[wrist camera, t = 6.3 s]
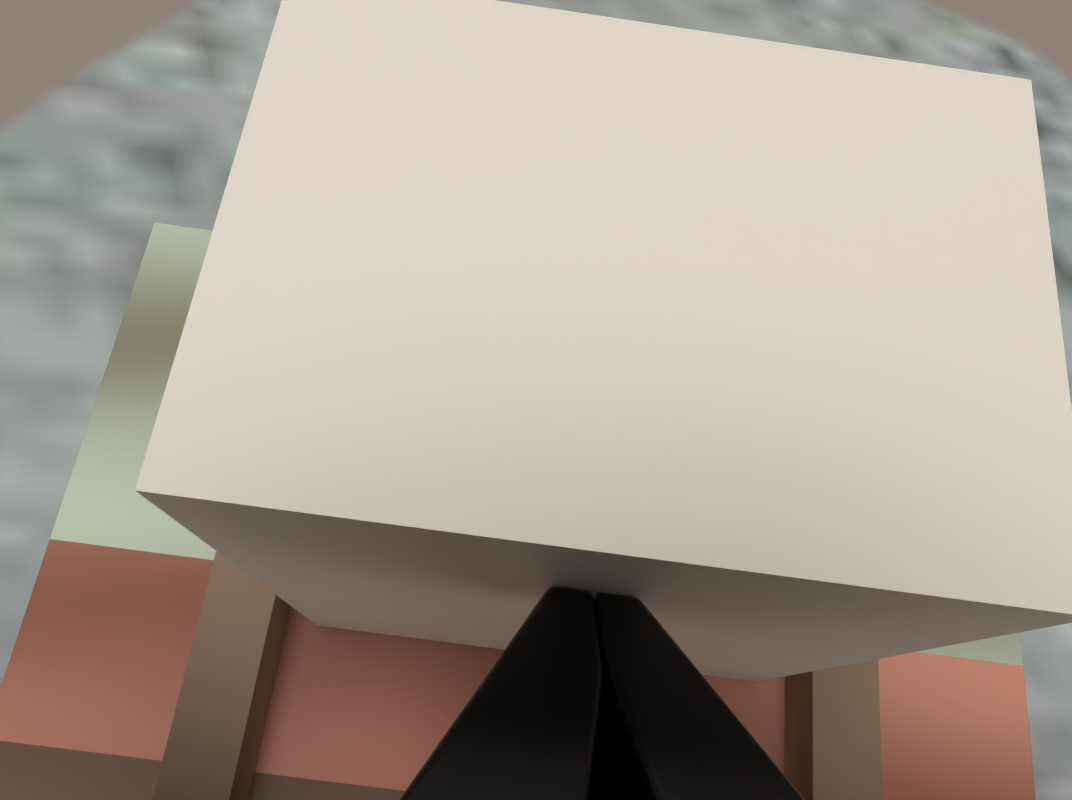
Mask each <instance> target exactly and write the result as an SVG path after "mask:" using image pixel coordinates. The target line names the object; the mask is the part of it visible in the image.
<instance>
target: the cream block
mask: <svg viewBox="0 0 1072 800" xmlns="http://www.w3.org/2000/svg"><path fill="white" fill-rule="evenodd" d="M135 491H136V492H138V493H139V494H140V495H142V496H143V497H144V498H146V499H147V500H148V501H150V502H151V503H152V504H154V505H155V506H157V507H158V508H159V509H161V510H162V511H163V512H165V513H166V514H167V515H169V516H170V517H171V518H173V519H174V520H175V521H177V522H178V523H179V524H181V525H182V526H184V527H185V528H186V529H188V530H189V531H190V532H192V533H193V534H194V535H196V536H197V537H198V538H200V539H201V540H202V541H204V542H205V543H207V544H208V545H209V546H211V547H212V548H213V549H215V550H216V551H217V552H219V553H220V554H221V555H223V556H224V557H225V558H227V559H228V560H230V561H231V562H232V563H234V564H235V565H236V566H238V567H239V568H240V569H242V570H243V571H244V572H246V573H247V574H248V575H250V576H251V577H253V578H254V579H255V580H257V581H258V582H259V583H261V584H262V585H263V586H265V587H266V588H267V589H269V590H270V591H271V592H273V593H274V594H275V595H277V596H278V597H280V598H281V599H282V600H284V601H285V602H286V603H288V604H289V605H290V606H292V607H293V608H294V609H296V610H297V611H298V612H300V613H301V614H303V615H304V616H305V617H307V618H308V619H309V620H311V621H312V622H313V623H315V624H316V625H317V626H324V627H332V628H340V629H348V630H355V631H363V632H371V633H379V634H387V635H394V636H402V637H410V638H418V639H425V640H433V641H441V642H449V643H456V644H464V645H472V646H480V647H488V648H495V649H503V650H505V648H506V647H507V646H508V644H509V643H510V641H511V640H512V639H513V637H514V636H515V634H516V633H517V631H518V630H519V629H520V627H521V626H522V624H523V623H524V621H525V620H526V619H527V617H528V616H529V614H530V613H531V612H532V610H533V609H534V607H535V606H536V604H537V603H538V602H539V600H540V599H541V597H542V596H543V594H544V593H545V592H546V590H548V589H549V588H550V587H554V586H555V587H563V588H571V589H578V590H585V591H588V592H590V593H591V594H592V596H593V598H594V597H595V595H596V594H598V593H608V594H616V595H624V596H632V597H636V598H638V599H639V600H641V601H642V602H643V604H644V605H645V606H646V607H647V608H648V610H649V611H650V612H651V613H652V614H653V616H654V617H655V618H656V619H657V621H658V622H659V623H660V624H661V625H662V627H663V628H664V629H665V630H666V631H667V633H668V634H669V635H670V636H671V638H672V639H673V640H674V641H675V642H676V644H677V645H678V646H679V647H680V649H681V650H682V651H683V652H684V653H685V655H686V656H687V657H688V658H689V659H690V661H691V662H692V663H693V664H694V666H695V667H696V668H697V669H698V670H699V672H700V673H701V674H702V675H705V676H713V677H721V678H728V679H736V680H744V681H752V682H758V681H764V680H769V679H774V678H780V677H785V676H790V675H796V674H801V673H806V672H811V671H817V670H822V669H827V668H833V667H838V666H843V665H849V664H854V663H859V662H864V661H870V660H875V659H880V658H886V657H891V656H896V655H902V654H907V653H912V652H917V651H923V650H928V649H933V648H939V647H944V646H949V645H955V644H960V643H965V642H971V641H976V640H981V639H986V638H992V637H997V636H1002V635H1008V634H1013V633H1018V632H1024V631H1029V630H1034V629H1039V628H1045V627H1050V626H1055V625H1061V624H1066V623H1071V622H1072V409H1071V400H1070V392H1069V384H1068V376H1067V368H1066V360H1065V352H1064V344H1063V336H1062V328H1061V319H1060V311H1059V303H1058V295H1057V287H1056V279H1055V271H1054V263H1053V255H1052V247H1051V238H1050V230H1049V222H1048V214H1047V206H1046V198H1045V190H1044V182H1043V174H1042V166H1041V157H1040V149H1039V141H1038V133H1037V125H1036V117H1035V109H1034V101H1033V93H1032V85H1031V80H1028V79H1021V78H1015V77H1008V76H1001V75H994V74H988V73H981V72H974V71H968V70H961V69H954V68H947V67H941V66H934V65H927V64H920V63H914V62H907V61H900V60H894V59H887V58H880V57H873V56H867V55H860V54H853V53H846V52H840V51H833V50H826V49H820V48H813V47H806V46H799V45H793V44H786V43H779V42H772V41H766V40H759V39H752V38H746V37H739V36H732V35H725V34H719V33H712V32H705V31H698V30H692V29H685V28H678V27H672V26H665V25H658V24H651V23H645V22H638V21H631V20H624V19H618V18H611V17H604V16H597V15H591V14H584V13H577V12H571V11H564V10H557V9H550V8H544V7H537V6H530V5H523V4H517V3H510V2H503V1H497V0H282V2H281V5H280V9H279V12H278V15H277V19H276V22H275V25H274V29H273V32H272V35H271V39H270V42H269V45H268V49H267V52H266V55H265V59H264V62H263V65H262V69H261V72H260V75H259V79H258V82H257V85H256V89H255V92H254V95H253V99H252V102H251V105H250V109H249V112H248V115H247V119H246V122H245V125H244V129H243V132H242V135H241V139H240V142H239V145H238V149H237V152H236V155H235V158H234V162H233V165H232V168H231V172H230V175H229V178H228V182H227V185H226V188H225V192H224V195H223V198H222V202H221V205H220V208H219V212H218V215H217V218H216V222H215V225H214V228H213V232H212V235H211V238H210V242H209V245H208V248H207V252H206V255H205V258H204V262H203V265H202V268H201V272H200V275H199V278H198V282H197V285H196V288H195V292H194V295H193V298H192V302H191V305H190V308H189V312H188V315H187V318H186V322H185V325H184V328H183V332H182V335H181V338H180V342H179V345H178V348H177V352H176V355H175V358H174V362H173V365H172V368H171V372H170V375H169V378H168V381H167V385H166V388H165V391H164V395H163V398H162V401H161V405H160V408H159V411H158V415H157V418H156V421H155V425H154V428H153V431H152V435H151V438H150V441H149V445H148V448H147V451H146V455H145V458H144V461H143V465H142V468H141V471H140V475H139V478H138V481H137V485H136V488H135Z"/></svg>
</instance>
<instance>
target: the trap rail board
mask: <svg viewBox="0 0 1072 800" xmlns="http://www.w3.org/2000/svg"><path fill="white" fill-rule="evenodd" d="M212 232H213V231H211V230H204V229H197V228H189V227H182V226H175V225H168V224H161V223H154V226H153V229H152V232H151V235H150V238H149V241H148V245H147V248H146V251H145V254H144V257H143V260H142V263H141V266H140V269H139V272H138V275H137V278H136V281H135V284H134V287H133V290H132V293H131V296H130V299H129V302H128V305H127V308H126V311H125V314H124V317H123V320H122V323H121V326H120V329H119V332H118V335H117V338H116V341H115V344H114V347H113V350H112V353H111V356H110V359H109V362H108V365H107V368H106V371H105V374H104V377H103V380H102V383H101V386H100V389H99V392H98V395H97V398H96V402H95V405H94V408H93V411H92V414H91V417H90V420H89V423H88V426H87V429H86V432H85V435H84V438H83V441H82V444H81V447H80V450H79V453H78V456H77V459H76V462H75V465H74V468H73V471H72V474H71V477H70V480H69V483H68V486H67V489H66V492H65V495H64V498H63V501H62V504H61V507H60V510H59V513H58V516H57V519H56V522H55V525H54V528H53V531H52V534H51V537H50V540H49V543H48V546H47V549H46V552H45V555H44V559H43V562H42V565H41V568H40V571H39V574H38V577H37V580H36V583H35V586H34V589H33V592H32V595H31V598H30V601H29V604H28V607H27V610H26V613H25V616H24V619H23V622H22V625H21V628H20V631H19V634H18V637H17V640H16V643H15V646H14V649H13V652H12V655H11V658H10V661H9V664H8V667H7V670H6V673H5V676H4V679H3V682H2V685H1V688H0V800H399V799H400V798H401V796H402V795H403V793H404V792H405V791H406V789H407V788H408V786H409V785H410V783H411V782H412V781H413V779H414V778H415V776H416V775H417V774H418V772H419V771H420V769H421V768H422V766H423V765H424V764H425V762H426V761H427V759H428V758H429V756H430V755H431V754H432V752H433V751H434V749H435V748H436V747H437V745H438V744H439V742H440V741H441V739H442V738H443V737H444V735H445V734H446V732H447V731H448V729H449V728H450V727H451V725H452V724H453V722H454V721H455V720H456V718H457V717H458V715H459V714H460V712H461V711H462V710H463V708H464V707H465V705H466V704H467V702H468V701H469V700H470V698H471V697H472V695H473V694H474V693H475V691H476V690H477V688H478V687H479V685H480V684H481V683H482V681H483V680H484V678H485V677H486V675H487V674H488V673H489V671H490V670H491V668H492V667H493V666H494V664H495V663H496V661H497V660H498V658H499V657H500V656H501V654H502V653H503V651H504V650H503V649H495V648H488V647H480V646H472V645H464V644H456V643H449V642H441V641H433V640H425V639H418V638H410V637H402V636H394V635H387V634H379V633H371V632H363V631H355V630H348V629H340V628H332V627H324V626H317V625H316V624H315V623H313V622H312V621H311V620H309V619H308V618H307V617H305V616H304V615H303V614H301V613H300V612H298V611H297V610H296V609H294V608H293V607H292V606H290V605H289V604H288V603H286V602H285V601H284V600H282V599H281V598H280V597H278V596H277V595H275V594H274V593H273V592H271V591H270V590H269V589H267V588H266V587H265V586H263V585H262V584H261V583H259V582H258V581H257V580H255V579H254V578H253V577H251V576H250V575H248V574H247V573H246V572H244V571H243V570H242V569H240V568H239V567H238V566H236V565H235V564H234V563H232V562H231V561H230V560H228V559H227V558H225V557H224V556H223V555H221V554H220V553H219V552H217V551H216V550H215V549H213V548H212V547H211V546H209V545H208V544H207V543H205V542H204V541H202V540H201V539H200V538H198V537H197V536H196V535H194V534H193V533H192V532H190V531H189V530H188V529H186V528H185V527H184V526H182V525H181V524H179V523H178V522H177V521H175V520H174V519H173V518H171V517H170V516H169V515H167V514H166V513H165V512H163V511H162V510H161V509H159V508H158V507H157V506H155V505H154V504H152V503H151V502H150V501H148V500H147V499H146V498H144V497H143V496H142V495H140V494H139V493H138V492H136V491H135V488H136V485H137V481H138V478H139V475H140V471H141V468H142V465H143V461H144V458H145V455H146V451H147V448H148V445H149V441H150V438H151V435H152V431H153V428H154V425H155V421H156V418H157V415H158V411H159V408H160V405H161V401H162V398H163V395H164V391H165V388H166V385H167V381H168V378H169V375H170V372H171V368H172V365H173V362H174V358H175V355H176V352H177V348H178V345H179V342H180V338H181V335H182V332H183V328H184V325H185V322H186V318H187V315H188V312H189V308H190V305H191V302H192V298H193V295H194V292H195V288H196V285H197V282H198V278H199V275H200V272H201V268H202V265H203V262H204V258H205V255H206V252H207V248H208V245H209V242H210V238H211V235H212ZM703 676H704V678H705V679H706V680H707V681H708V683H709V684H710V685H711V686H712V687H713V689H714V690H715V691H716V692H717V693H718V695H719V696H720V697H721V698H722V700H723V701H724V702H725V703H726V704H727V706H728V707H729V708H730V709H731V711H732V712H733V713H734V714H735V715H736V717H737V718H738V719H739V720H740V721H741V723H742V724H743V725H744V726H745V728H746V729H747V730H748V731H749V732H750V734H751V735H752V736H753V737H754V738H755V740H756V741H757V742H758V743H759V745H760V746H761V747H762V748H763V749H764V751H765V752H766V753H767V754H768V755H769V757H770V758H771V759H772V760H773V762H774V763H775V764H776V765H777V766H778V768H779V769H780V770H781V771H782V772H783V774H784V775H785V776H786V777H787V779H788V780H789V781H790V782H791V783H792V785H793V786H794V787H795V788H796V790H797V791H798V792H799V793H800V794H801V796H802V797H803V798H804V799H805V800H1035V790H1034V779H1033V768H1032V757H1031V746H1030V735H1029V724H1028V713H1027V702H1026V690H1025V679H1024V668H1023V657H1022V646H1021V635H1020V632H1018V633H1013V634H1008V635H1002V636H997V637H992V638H986V639H981V640H976V641H971V642H965V643H960V644H955V645H949V646H944V647H939V648H933V649H928V650H923V651H917V652H912V653H907V654H902V655H896V656H891V657H886V658H880V659H875V660H870V661H864V662H859V663H854V664H849V665H843V666H838V667H833V668H827V669H822V670H817V671H811V672H806V673H801V674H796V675H790V676H785V677H780V678H774V679H769V680H764V681H758V682H752V681H744V680H736V679H728V678H721V677H713V676H705V675H703Z"/></svg>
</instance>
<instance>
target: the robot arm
mask: <svg viewBox="0 0 1072 800" xmlns="http://www.w3.org/2000/svg"><path fill="white" fill-rule="evenodd" d="M399 800H805V799H804V798H803V797H802V796H801V794H800V793H799V792H798V791H797V790H796V788H795V787H794V786H793V785H792V783H791V782H790V781H789V780H788V779H787V777H786V776H785V775H784V774H783V772H782V771H781V770H780V769H779V768H778V766H777V765H776V764H775V763H774V762H773V760H772V759H771V758H770V757H769V755H768V754H767V753H766V752H765V751H764V749H763V748H762V747H761V746H760V745H759V743H758V742H757V741H756V740H755V738H754V737H753V736H752V735H751V734H750V732H749V731H748V730H747V729H746V728H745V726H744V725H743V724H742V723H741V721H740V720H739V719H738V718H737V717H736V715H735V714H734V713H733V712H732V711H731V709H730V708H729V707H728V706H727V704H726V703H725V702H724V701H723V700H722V698H721V697H720V696H719V695H718V693H717V692H716V691H715V690H714V689H713V687H712V686H711V685H710V684H709V683H708V681H707V680H706V679H705V678H704V676H703V675H702V674H701V673H700V672H699V670H698V669H697V668H696V667H695V666H694V664H693V663H692V662H691V661H690V659H689V658H688V657H687V656H686V655H685V653H684V652H683V651H682V650H681V649H680V647H679V646H678V645H677V644H676V642H675V641H674V640H673V639H672V638H671V636H670V635H669V634H668V633H667V631H666V630H665V629H664V628H663V627H662V625H661V624H660V623H659V622H658V621H657V619H656V618H655V617H654V616H653V614H652V613H651V612H650V611H649V610H648V608H647V607H646V606H645V605H644V604H643V602H642V601H641V600H639V599H638V598H636V597H632V596H624V595H616V594H608V593H598V594H596V595H595V597H594V598H593V596H592V594H591V593H590V592H588V591H585V590H578V589H571V588H563V587H555V586H554V587H550V588H549V589H548V590H546V592H545V593H544V594H543V596H542V597H541V599H540V600H539V602H538V603H537V604H536V606H535V607H534V609H533V610H532V612H531V613H530V614H529V616H528V617H527V619H526V620H525V621H524V623H523V624H522V626H521V627H520V629H519V630H518V631H517V633H516V634H515V636H514V637H513V639H512V640H511V641H510V643H509V644H508V646H507V647H506V648H505V650H504V651H503V653H502V654H501V656H500V657H499V658H498V660H497V661H496V663H495V664H494V666H493V667H492V668H491V670H490V671H489V673H488V674H487V675H486V677H485V678H484V680H483V681H482V683H481V684H480V685H479V687H478V688H477V690H476V691H475V693H474V694H473V695H472V697H471V698H470V700H469V701H468V702H467V704H466V705H465V707H464V708H463V710H462V711H461V712H460V714H459V715H458V717H457V718H456V720H455V721H454V722H453V724H452V725H451V727H450V728H449V729H448V731H447V732H446V734H445V735H444V737H443V738H442V739H441V741H440V742H439V744H438V745H437V747H436V748H435V749H434V751H433V752H432V754H431V755H430V756H429V758H428V759H427V761H426V762H425V764H424V765H423V766H422V768H421V769H420V771H419V772H418V774H417V775H416V776H415V778H414V779H413V781H412V782H411V783H410V785H409V786H408V788H407V789H406V791H405V792H404V793H403V795H402V796H401V798H400V799H399Z"/></svg>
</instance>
